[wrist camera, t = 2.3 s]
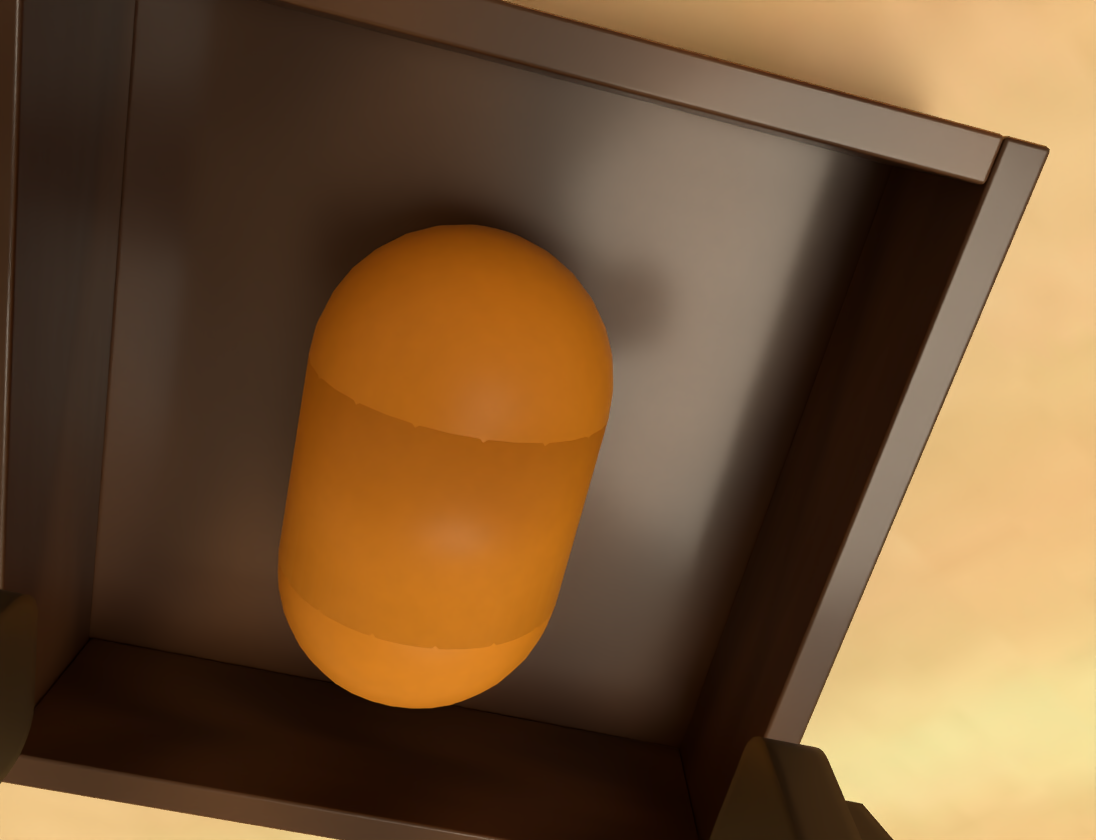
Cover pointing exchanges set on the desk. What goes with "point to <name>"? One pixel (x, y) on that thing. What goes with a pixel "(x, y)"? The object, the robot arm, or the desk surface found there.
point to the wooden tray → (281, 361)
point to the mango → (441, 463)
